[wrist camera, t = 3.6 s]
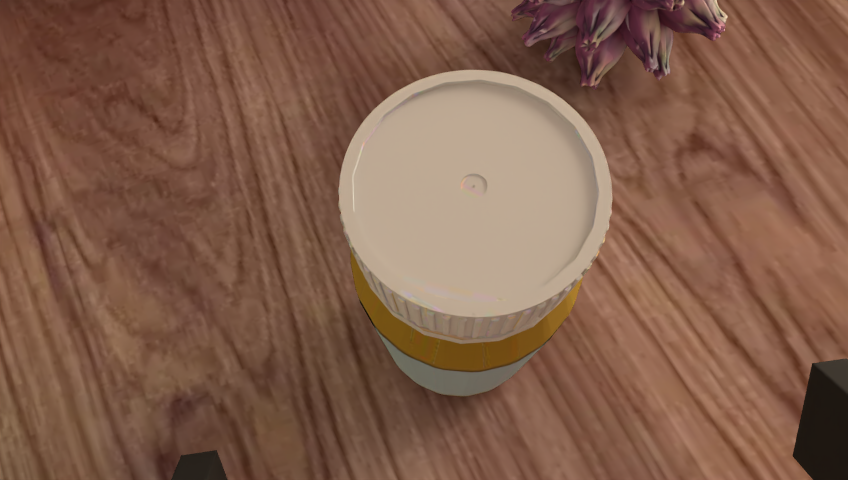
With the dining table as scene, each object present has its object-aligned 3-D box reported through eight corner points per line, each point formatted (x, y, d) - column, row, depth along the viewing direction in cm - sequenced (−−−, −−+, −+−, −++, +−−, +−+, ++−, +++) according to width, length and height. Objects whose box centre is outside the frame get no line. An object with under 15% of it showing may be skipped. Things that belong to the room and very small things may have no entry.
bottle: (358, 297, 27) (266, 139, 13) (480, 226, 28) (516, 9, 14) (432, 428, 25) (419, 407, 11) (562, 346, 26) (701, 231, 12)
